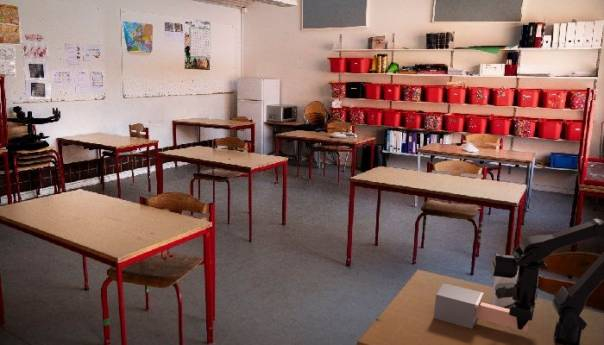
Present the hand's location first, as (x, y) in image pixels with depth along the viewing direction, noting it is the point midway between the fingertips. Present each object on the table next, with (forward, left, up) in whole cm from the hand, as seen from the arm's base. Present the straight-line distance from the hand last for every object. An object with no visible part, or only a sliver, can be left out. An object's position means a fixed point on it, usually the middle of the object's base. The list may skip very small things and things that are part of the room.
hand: (520, 327), depth 152 cm
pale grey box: (+19, 0, -2) cm, 19 cm away
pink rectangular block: (+6, 0, 0) cm, 6 cm away
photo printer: (+7, -19, -2) cm, 20 cm away
